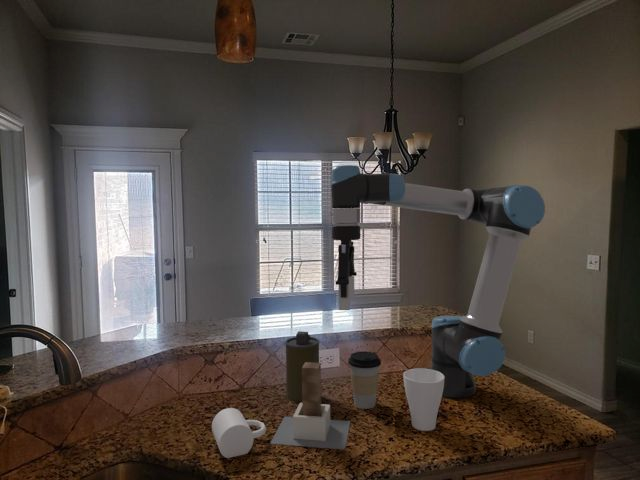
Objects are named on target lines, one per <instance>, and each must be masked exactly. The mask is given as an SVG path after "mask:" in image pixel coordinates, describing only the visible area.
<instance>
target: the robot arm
mask: <svg viewBox="0 0 640 480" xmlns="http://www.w3.org/2000/svg"><path fill="white" fill-rule="evenodd" d="M330 178H331V180H330V187H331V189H330V190H331V191H330V192H331V212H330V213H329V216H330V217H331V223H332V224H333V225H332V227H331V239H332V240H334V241H340V244H338V248H337V249H338V250H337V251H338V265H337V280H335V285H336V286H337V285H338V311H351V305H350V304H351V303H350V302H351V300H355V276H356V277H357V275H358V274H357V271H356V270H355V246H354V242H353V241H359V240H360V239H361V226H360V225H359V224H361V204H364V205H368V204H370V205H376V206H378V205H379V206H386V207H393V208H394V207H395V208H399V209H400V208H401V209H409V210H415V211H416V210H417V211H424V212H432V213H439V214H444V215H445V214H446V215H453V216H458V218H459V219H461V220H466V221H471V222H474V223H480V224H483V225H485V229H486V231H487V233H488V239H487V242H486V246H485V249H484V254H483V257H482V259H481V260H482V261H481V264H480V268H479V271H478V275H477V278H476V282H475V286H474V290H473V294H472V297H471V300H470V302H469V303H470V304H469V308H468V311H467V314H466V315H464V316H463V315H440V316H435V317H434V318H432V321H431V364H430V367H429V369H432V370H435V371H438V372H440V373H442V374H443V375H444V377H445V379H444V389H443V393H442V397H444V398H449V399H450V398H452V399H462V398H463V399H464V398H469V397H472V396H473V395H475V394H476V392H477V390H476V389H477V387H476V386H477V383H476V380H475V378H474V376H477V377H486V376H487V377H488V376H490V375H491V374H493V373H495V372H497V371H498V370H499V369H500V368H501V367H502V365H503V363H504V362H505V361H504V360H505V358H506V350H505V348H504V344H502V342H501V339H502V335H503V330H502V327H500V321H501V317H502V312H503V309H504V306H505V302H506V299H507V295H508V291H509V288H510V284H511V280H512V277H513V274H514V270H515V267H516V266H515V265H516V263H517V259H518V255H519V251H520V248H521V244H522V242H523V241H525V240H526V239H529V238H530V235H531V230H532V229H533V228H534V227H536V226H537V225H538V224H540V223H541V222H542V221H543V219H544V216H545V213H546V204H545V200H544V198H543V197H542V195H541V193H540V192H539V191H538V190H537V189H536V188H534V187H533V186H531V185H530V186H529V185H524V184H523V185H522V184H521V185H519V184H514V185H508V186H499V187H491V188H483V189H482V188H481V189H479V188H478V189H474V188H465V189H463V190H456V189H450V188H443V187H435V186H428V185H421V184H416V183H409V182H408V183H407V182H405V179H404V176H403V174H402V175H401V174H399V173H391V172H389V173H363V172H361V169H360V166H358V165H351V164H350V165H349V164H347V165H346V164H345V165H336V166H335V167H333V168H332V170H331V177H330Z"/></svg>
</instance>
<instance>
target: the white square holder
mask: <svg viewBox="0 0 640 480" xmlns="http://www.w3.org/2000/svg"><path fill="white" fill-rule="evenodd" d="M292 415H293V416H292V417H293V439H305V440H318V441H326V438H327V434H328V431H329V428H330V420H331V404H326V403H325V404H324V403H323V404H322V403H321V417H318V416H303V408H302V402H300V403H299V404H298V405H297V408H296V409H295V411H294V414H292Z"/></svg>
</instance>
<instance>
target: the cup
mask: <svg viewBox="0 0 640 480" xmlns="http://www.w3.org/2000/svg"><path fill="white" fill-rule="evenodd" d="M402 376H403V386H404V390H405V396H406V400H407V403H408V407H409V413H410V420H411V426H412V427H413V428H414V429H416V430H418V431H421V432H430V431H434V430H435V429H436V425H437V416H438V412H439V408H440V404H441V403H442V402H441V401H442V398H443V396H442V393H443V389H444V379H445V377H444V375H443V374H442V373H440V372H438V371H435V370H432V369H430V368H425V367H424V368H423V367H417V368H416V367H415V368H409V369H407V370H405V371H404V372H403V373H402Z"/></svg>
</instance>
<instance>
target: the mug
mask: <svg viewBox="0 0 640 480" xmlns="http://www.w3.org/2000/svg"><path fill="white" fill-rule="evenodd" d="M252 426H256V427H259V428H258V429H257V430H251V428H250V427H252ZM266 430H267V426H266V424H265V423H264V422H262V421H260V420H256V419H245V417H244V415H243V413H242V412H241V411H240V410H239V409H237V408H233V407H227V408H224V409H222V410H219V412H218V413H217V414H216V415H215V416H214V417H213V420H212V423H211V432H212V434H213V437H214V439H215V441H216V442H215V443H216V444H217V447H218V450H219V452H220V454H221V455H222V457H224V458H226V459H231V458H233V457H238V456H242V455H246V454H247V455H248V453H249V452H250V451H251V449H252V447H253V445H254V440H255V439H256V438H260V437H261V436H263V435H264V434H266V432H267V431H266Z"/></svg>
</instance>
